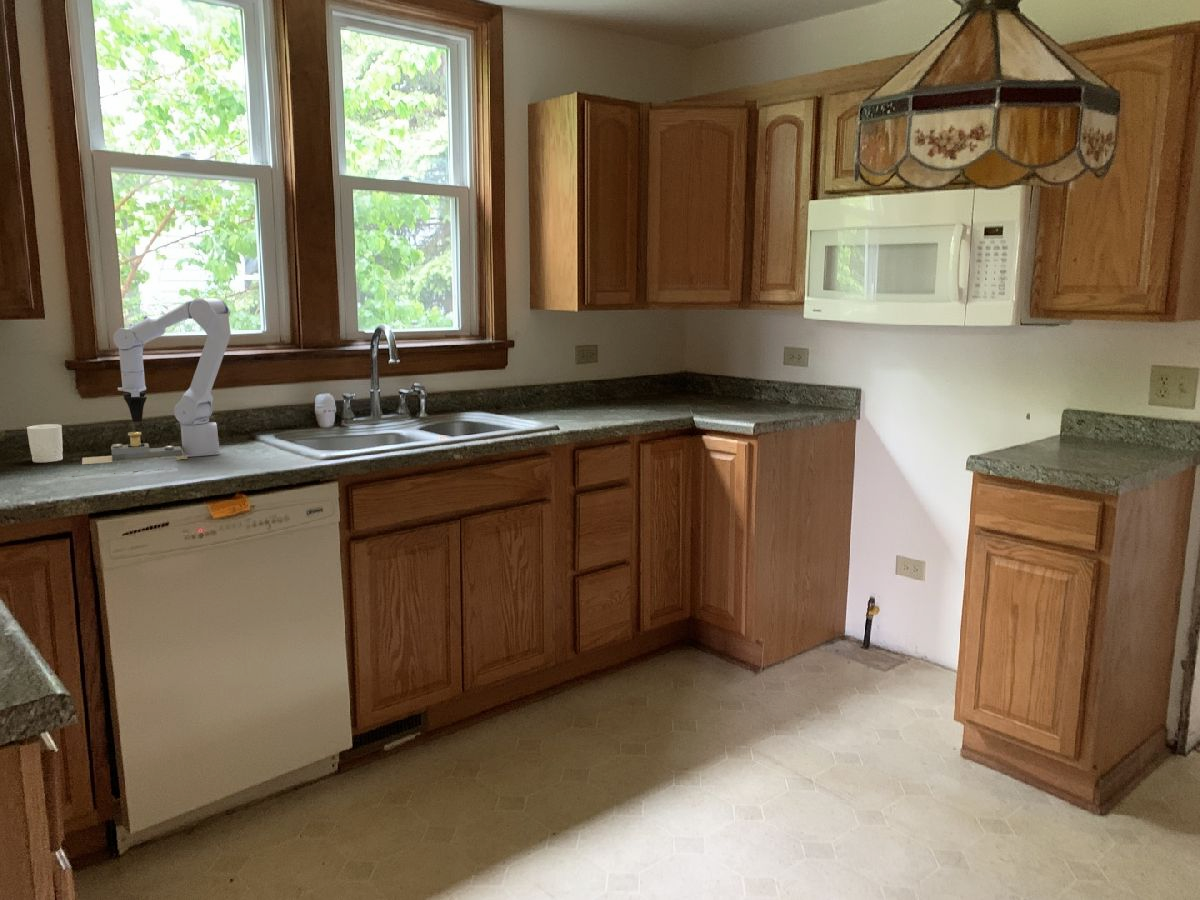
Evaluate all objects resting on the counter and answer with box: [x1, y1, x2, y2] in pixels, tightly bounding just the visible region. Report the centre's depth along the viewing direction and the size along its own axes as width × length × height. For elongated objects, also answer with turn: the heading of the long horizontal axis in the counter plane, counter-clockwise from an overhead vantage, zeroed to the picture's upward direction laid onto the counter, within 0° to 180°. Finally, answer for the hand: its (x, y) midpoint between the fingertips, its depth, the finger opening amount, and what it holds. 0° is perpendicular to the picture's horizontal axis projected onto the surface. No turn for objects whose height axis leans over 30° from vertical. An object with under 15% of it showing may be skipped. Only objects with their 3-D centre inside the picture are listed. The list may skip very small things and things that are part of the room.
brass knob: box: [127, 431, 142, 447], centre depth 244 cm, size 3×3×7 cm
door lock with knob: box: [81, 442, 189, 465], centre depth 245 cm, size 25×10×5 cm, turn 119°
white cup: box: [26, 423, 64, 463], centre depth 240 cm, size 8×8×10 cm
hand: (136, 419), depth 254 cm, fingers open, 7 cm apart
